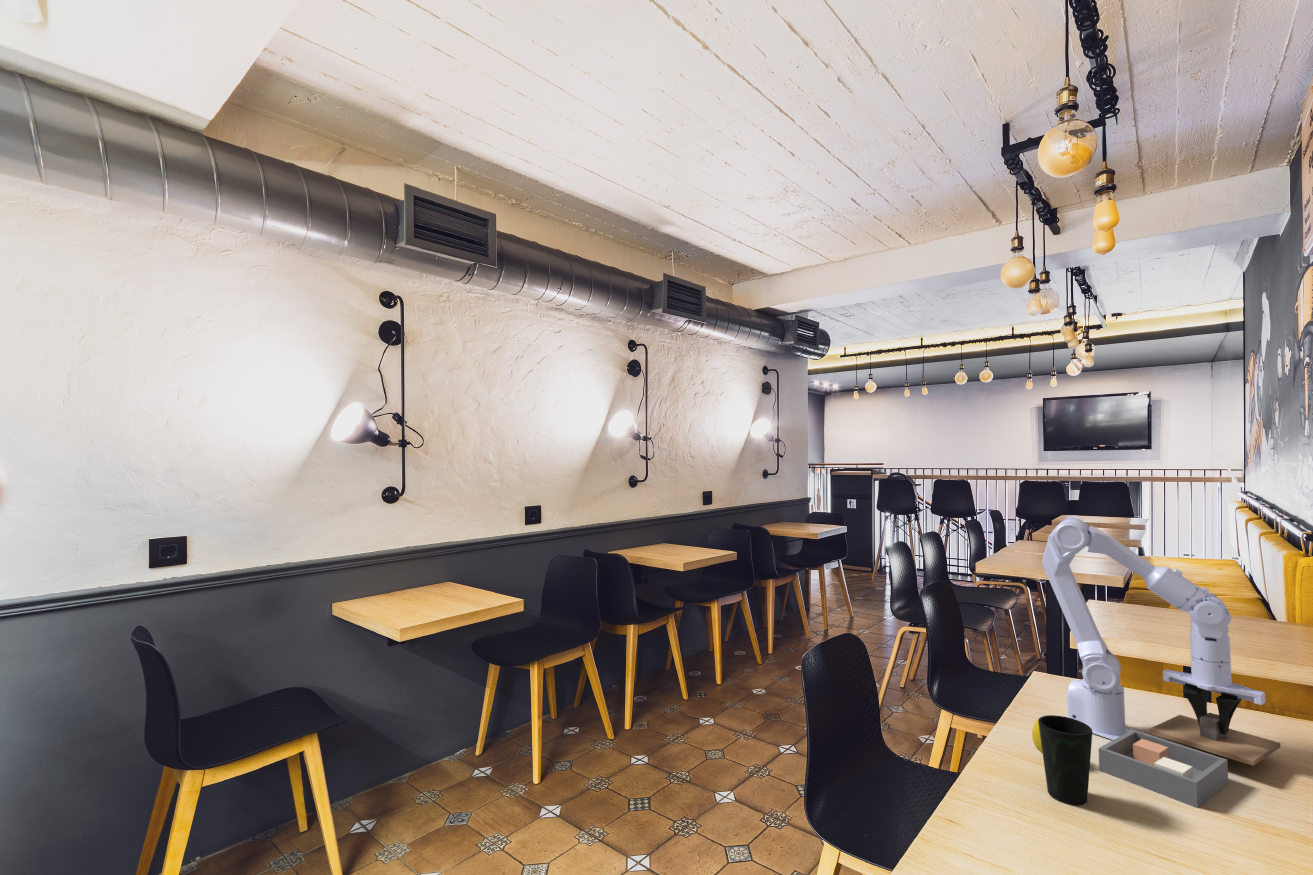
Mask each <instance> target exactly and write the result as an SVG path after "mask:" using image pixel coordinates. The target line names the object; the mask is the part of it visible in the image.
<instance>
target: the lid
mask: <svg viewBox="0 0 1313 875" xmlns="http://www.w3.org/2000/svg"><path fill="white" fill-rule="evenodd" d="M1148 734H1149V735H1153V736H1156V737H1159V738H1162V739H1165V740H1170V741H1172V742H1175V743H1178V744H1179V743H1180V744H1181V745H1185V746H1188V747H1191V748H1194V749H1195V748H1196V749H1197V750H1200V751H1201V750H1202V751H1206V752H1208V753H1210V754H1213V755H1214V754H1215V755H1218V756H1221V757H1225V758H1226V759H1230V760H1233V761H1237V762H1240V763H1243V764H1247V765H1250V766H1255V765H1256V764H1258V763H1259V762H1261V761H1263V760H1264V759H1265V758H1267V757H1269V756H1271V754H1273V753H1274V752H1276V751H1278V750H1280V748H1282V746H1281V742H1278V741H1275V740H1272V739H1268V738H1264V737H1260V736H1257V735H1253V734H1250V733H1246V732H1244V731H1239V730H1235V729H1232V728H1229V730H1228V733H1226V734H1221V733H1220V730H1219V714H1217V713H1213V712H1207V714H1205V715H1203V716H1201V717H1200V727H1199V723H1198V720H1197V718H1192V717H1190V716H1187V715H1183V714H1178V715H1176V716H1173V717H1172V718H1169V719H1167V720H1165V721H1163V722H1161V723H1158V724H1157V725H1154V726H1152V727H1150V728H1148Z"/></svg>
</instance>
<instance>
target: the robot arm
mask: <svg viewBox="0 0 1313 875" xmlns="http://www.w3.org/2000/svg"><path fill="white" fill-rule="evenodd" d="M1086 547H1087V548H1088V549H1087V553H1092V554H1104V555H1106V556H1107V557H1108V558H1111V559H1112V560H1114V561H1115V562H1117V563H1118V564H1120V565H1122V566H1123V567H1125V568H1127V569H1129V571H1131V572H1133V573H1134V574H1136V575H1138V576H1139V577H1141V578H1143V579H1144V582H1145V587H1146V588H1147V590H1150V591H1149V592H1152V593H1153V594H1155V595H1156V596H1158V597H1159V598H1161V599H1162V600H1165V601H1166V602H1167V603H1168V604H1170V605H1171V606H1173V607H1175V609H1177V610H1179V611H1182V612H1183V611H1184V612H1187V613H1188V615H1189V617H1190V631H1189V647H1190V649H1189V650H1190V669H1191V673H1189V672H1183V671H1176V670H1171V669H1165V670H1163V671H1162V677H1163V679H1162V680H1163V681H1164V682H1167V683H1171V682H1172V683H1175V684H1179V685H1182V686H1183V685H1184V688H1183V689H1182V692H1183V695H1184V696H1185V697H1186V699H1187V701H1188V702H1189V704H1190V705H1191V707H1192V709H1193V712H1194V714H1195V716H1196V719H1197V720H1198V723H1199V727H1200V717H1201V716H1203V715H1205V714H1208V695H1209V692H1212V693H1216V694H1220V695H1219V696H1216V697H1215V701H1216V705H1217V710H1218V711H1217V712H1218V715H1219V730H1220V733H1221V734H1226V733H1228V730H1229V729H1230V724H1231V721H1232V718H1233V716H1234V713H1235V712H1236V710H1237V708H1238V707H1239V705H1240V704H1241V702H1242V700H1245V701H1248V702H1253V704H1256V705H1260V706H1263V705H1265V703H1266V693H1265V691H1261V690H1256V689H1253V688H1250V687H1248V686H1244V685H1241V684H1237V683H1234V682H1233V681H1232V663H1231V662H1232V661H1231V660H1232V659H1231V640H1230V636H1229V631H1230V630H1229V629H1230V628H1229V627H1228V626H1229V624H1230V623H1231V622H1232V615H1231V614H1230V610H1229V609H1228V607H1227V606H1226V604H1225V602H1224V601H1223V600H1221V598H1220V597H1218V596H1217V595H1216V594H1214V593H1213V592H1210V591H1209V589H1207V588H1206V587H1205V586H1202V587H1200V586H1199V585H1197V584H1195V583H1194V582H1192V580H1191V581H1190V580H1189V579H1187V578H1186V577H1185V576H1184V575H1183V572H1182V571H1181V570H1179V569H1177V568H1174V569H1172V568H1170V567H1168V566H1154V564H1152V563H1150V562H1149V561H1147V560H1146V559H1145V558H1143V557H1142V556H1140V555H1139V554H1137V553H1136V552H1134V551H1133V550H1131V549H1130V548H1129V547H1128V546H1126V545H1124V544H1122V542H1120V541H1119V540H1117V539H1115V537H1113V536H1111V535H1110V534H1107V532H1104V531H1102V530H1100V529H1098V528H1097V527H1095V526H1093V525H1090V526H1089V524H1087V523H1086V522H1085V521H1083V520H1082V519H1080V518H1075V517H1069V518H1065V519H1062V521H1060V522H1059V523H1058V525H1056V526H1055V528H1054V529H1053V530H1052V532H1051V533H1050V534H1049V535H1048V538H1047V541H1046V545H1045V549H1044V552H1043V556H1042V560H1041V564H1042V567H1043V569H1044V572H1045V574H1046V576H1047V579H1048V581H1049V584H1050V585H1051V588H1052V590H1053V592H1054V595H1055V596H1056V600H1057V601H1058V604H1059V606H1060V608H1061V611H1062V613H1063V615H1064V618H1065V621H1066V622H1067V624H1068V626H1069V629H1070V632H1071V634H1072V636H1073V639H1074V641H1075V643H1076V645H1077V650H1078V654H1079V658H1080V661H1081V663H1082V671H1081V672H1082V679H1081V680H1078V679H1074V680H1072V681H1071V682H1070V683H1069V685H1068V688H1067V693H1066V696H1067V697H1066V698H1067V699H1066V700H1067V717H1068V718H1072V719H1075V720H1078V721H1081V722H1083V723H1085V724H1087V725H1088V726H1089V727H1090V728H1091V729H1092V735H1097V736H1100V737H1103V738H1106V739H1107V740H1108V739H1109V740H1111V741H1113V740H1114V739H1116V738H1118V737H1120V736H1122V735H1123V734H1125V733H1127V732H1129V731H1131V730H1134V729H1133V728H1130V727H1126V710H1125V708H1126V706H1125V688H1124V687H1123V686H1122V684H1121V676H1120V675H1121V674H1120V673H1121V671H1122V665H1121V662H1120V661H1119V659H1118V657H1117V656H1116V655H1115V654H1113V653H1112V652H1111V650H1110V649H1109V648H1108V645H1107V643H1106V642H1105V640H1104V639H1103V638H1102V636H1101V633H1100V631H1099V628H1098V627H1097V625H1096V622H1095V619H1094V618H1093V615H1092V613H1091V611H1090V609H1089V606H1088V605H1087V602H1086V600H1085V597H1084V595H1083V593H1082V591H1081V589H1080V587H1079V584H1078V582H1077V579H1076V578H1075V576H1074V573H1073V570H1072V568H1071V566H1070V565H1071V563H1072V561H1073V559H1074V558H1075V557H1076V555H1077V554H1079V553H1080V552H1082V550H1084V549H1085V548H1086Z"/></svg>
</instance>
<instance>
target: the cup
mask: <svg viewBox="0 0 1313 875" xmlns="http://www.w3.org/2000/svg"><path fill="white" fill-rule="evenodd" d="M1038 719H1039V720H1038ZM1038 719H1037V720H1038V723H1039V730H1040V738H1041V745H1042V753H1043V754H1042V753H1041V754H1042V758H1043V765H1044V773H1045V780H1046V789H1047V794H1048V793H1049V794H1048V795H1049V797H1051V798H1052V799H1054V800H1055V801H1058V802H1060V803H1062V802H1063V804H1066V805H1069V806H1077V807H1079V806H1085V805H1086V804H1087V803H1088V795H1089V782H1090V769H1091V768H1090V767H1091V755H1092V742H1093V733H1092V729H1091V728H1090V727H1089V726H1088V725H1087V724H1085V723H1083V722H1081V721H1078V720H1075V719H1072V718H1068V716H1063V715H1062V716H1061V715H1052V714H1051V715H1044V716H1040V717H1039V718H1038Z"/></svg>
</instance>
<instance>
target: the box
mask: <svg viewBox="0 0 1313 875" xmlns="http://www.w3.org/2000/svg"><path fill="white" fill-rule="evenodd" d="M1141 739H1145V740H1148V741H1151V742H1154V743H1157V744H1160V745H1163V746H1166V747H1168V748H1169V759H1172V760H1175V761H1178V762H1181V763H1183V764H1186V765H1189V766H1192V767H1193V779H1190V778H1187V777H1184V776H1181V775H1178V774H1176V773H1173V772H1170V771H1167V770H1164V769H1161V768H1159V767H1156V766H1153V765H1150V764H1147V763H1144V762H1141V761H1139V760H1136V759H1134V758H1133V744H1134V743H1136V742H1138V741H1139V740H1141ZM1098 767H1099V768H1098V769H1099V771H1100V772H1103V773H1105V774H1108V775H1111V776H1113V777H1116V778H1118V779H1122V780H1123V781H1126V782H1129V783H1131V784H1134V785H1137V786H1138V787H1139V786H1140V787H1142V788H1144V789H1147V790H1150V791H1153V792H1155V793H1158V794H1160V795H1163V796H1166V797H1168V798H1171V799H1174V800H1176V801H1179V802H1181V803H1184V804H1186V805H1189V806H1192V807H1194V808H1199V807H1200V806H1201V805H1203V804H1204V803H1205V802H1207V801H1208V800H1209V799H1210V798H1211V797H1212V796H1214V795H1215V794H1217V793H1218V792H1219V791H1220V790H1222V789H1223V788H1224V787H1225V786H1226V785H1228V784H1229V769H1228V767H1229V766H1228V758H1223V757H1222V756H1221V757H1220V756H1216V755H1214V754H1212V753H1209V752H1208V753H1207V752H1204V751H1203V750H1202V751H1201V750H1200V749H1195V748H1193V747H1190V746H1187V745H1184V744H1181V743H1180V744H1179V743H1177V742H1174V741H1171V740H1170V741H1169V740H1168V739H1165V738H1162V737H1159V736H1155V735H1152V734H1149V733H1144V732H1141V731H1138V730H1136V729H1133V730H1131V731H1129V732H1127V733H1125V734H1123V735H1122V736H1120V737H1118V738H1116V739H1114V740H1111V741H1109V742H1107V743H1105V744H1104V745H1102V746H1100V747H1099V748H1098Z"/></svg>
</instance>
